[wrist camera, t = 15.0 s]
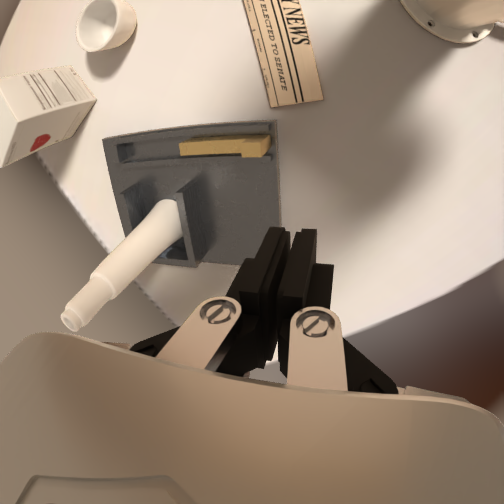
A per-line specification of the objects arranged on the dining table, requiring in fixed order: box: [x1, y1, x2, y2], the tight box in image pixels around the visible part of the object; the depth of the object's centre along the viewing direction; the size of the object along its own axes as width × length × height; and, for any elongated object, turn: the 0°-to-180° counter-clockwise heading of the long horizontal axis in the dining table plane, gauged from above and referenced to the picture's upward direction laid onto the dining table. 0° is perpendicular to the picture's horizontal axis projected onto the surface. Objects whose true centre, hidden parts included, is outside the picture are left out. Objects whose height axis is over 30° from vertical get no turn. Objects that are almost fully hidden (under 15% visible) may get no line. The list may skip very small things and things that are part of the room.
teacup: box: [76, 0, 137, 52], centre depth 27 cm, size 10×8×5 cm
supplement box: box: [0, 65, 97, 168], centre depth 31 cm, size 9×9×15 cm
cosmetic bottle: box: [61, 199, 183, 332], centre depth 33 cm, size 6×6×22 cm
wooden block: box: [179, 134, 271, 157], centre depth 32 cm, size 10×2×5 cm, turn 95°
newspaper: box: [244, 0, 323, 108], centre depth 25 cm, size 24×7×2 cm, turn 13°
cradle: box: [102, 120, 281, 268], centre depth 39 cm, size 25×20×5 cm
